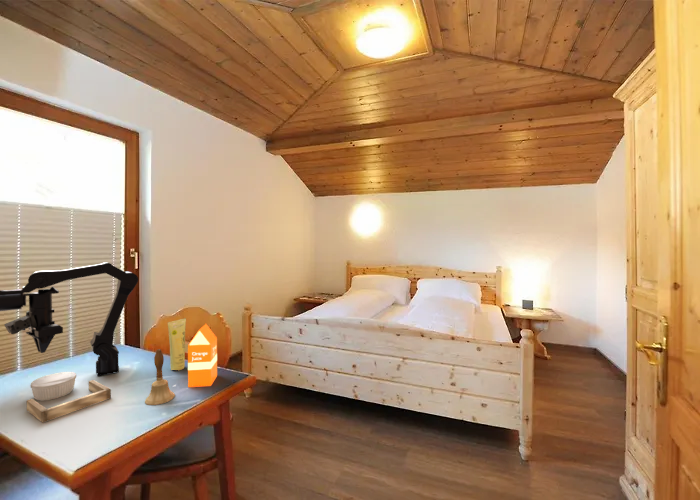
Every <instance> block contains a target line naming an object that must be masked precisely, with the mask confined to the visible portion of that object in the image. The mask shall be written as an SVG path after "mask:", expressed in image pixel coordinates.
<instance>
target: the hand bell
mask: <svg viewBox="0 0 700 500" xmlns="http://www.w3.org/2000/svg"><path fill="white" fill-rule="evenodd" d="M164 358H165V357H164V354H163V351H162V349H160V348H158V349H156V350H155V354H154V366H155V370H156V374H155V375H156V380H155V381H153V382H152V384H151V385H150V386H151V387H150V388H151V389H150V392H149V395H148V396H147V397H146V398H145V400H144V404H145V405H148V406H158V405H163V404H165V403H167V402H170V401H172V400H173V399H174V398H175V397H176V395H175V393H174V392H173V391H172V390H171V389H170V387H169V382H168V380H167V379H164V377H163V376H164V375H163V365H164V362H165V360H164Z"/></svg>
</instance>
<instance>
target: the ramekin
mask: <svg viewBox="0 0 700 500" xmlns="http://www.w3.org/2000/svg"><path fill="white" fill-rule="evenodd" d="M76 378H77V373H76V372H73V371H62V372H56V373H50V374H46V375H44V376H43V375H42V376H40V377H38V378H36V379H34V380H33V381H31V382H30V383H29V384H30V389H31V391H32V395H33V399H34V400H36V401H50V400H55V399H59V398H61V397H64V396H67V395H69V394H71V393H72V391H73V390H74V388H75V383H76Z"/></svg>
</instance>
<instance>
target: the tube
mask: <svg viewBox="0 0 700 500" xmlns="http://www.w3.org/2000/svg"><path fill="white" fill-rule="evenodd" d="M186 324H187V319H186V318H181V319H177V320H173V321H168V322H167V329H168V339H169V340H168V341H169V357H170V363H169V365H170V370H171V371H172V370H178V371H181V370H184V369H185V366H186V364H185V362H186V361H185V359H186V358H185V355H186V354H185V352H186V349H185V348H186Z"/></svg>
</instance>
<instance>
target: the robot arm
mask: <svg viewBox="0 0 700 500" xmlns="http://www.w3.org/2000/svg"><path fill="white" fill-rule="evenodd" d="M102 274H107V275H109V276H111V277H112V278H114V279H116V280H117V283H116V292H115V295H114V299H113V300H112V303H111V305H110V308H109V310H108V313H107V315H106V318H105V320H104V323H103V325H102V327H101V329H100V330H99V332H98V331H94V333H93V337H92V339H91V340H90V341H89V343H90V345H91V349H92V352H93V353H94V355H96V356H97V360H96V361H95V374H96V375H97V377H100V376H105V375H110V374H111V375H112V374H115V373H116V374H117V373H119V372H120V366H119V353H120V352H119V349H118V348H117V346H116V345H114V335H115V330H116V327H117V325H118V322H119V320H120V317H121V314H122V312H123V310H124V307H125V305H126V302H127V300H128V297H129V295H130V294H131V293H132V292H133V291H134V289H135V288H136V286H137V284H138V283H139V277H138V275H137V274H136V273H135V272H134V273H133V272H132V271H124V270H122V269H120V268H119V267H117V266H114V265H113V264H112V263H110V262H105V261H104V262H102V263H98V264H92V265H84V266H78V267H73V268H68V269H67V268H66V269H61V270H60V269H55V270H54V269H53V270H50V269H49V270H36V271H34V272H32V273H31V274H30V275H29V276H28V280H27V284H25V285H23V286H22V287H21V289H9V290H8V289H7V290H6V289H0V312H7V311H8V312H9V311H14V310H15V311H16V310H17V311H18V310H22V309H23V308H24V307H26V306H27V297H28V310H27V311H26V312H25V315H24V316H22V317H19V318H16V319H14V320H11V321H9V322H5V324H3V325H4V327H5V329H6V330H7V332H8V334H10V335H15V334H18V333H19V332H21V331H26V329H28V331H26V332H25V334H26V335H28V336H29V337H31V338H32V339H33V341H34V344H35V347H36V349H37V352H39V353H40V354H43V353H45V352H46V351H47V350H48V348H49V346H50V344H51V342H52V340H53V339H54V337H55V336H56V335H59V334H63V332H64V328H63V326H61V325H60V324H56V322H55V320H53V313H55V309H54V308H53V295H54V294H59V292H60V291H59V290H58V289H57V288H55V286H54V285H57V284H59V283H62V282H65V281H69V280H75V279H81V278H86V277H92V276H96V275H102ZM48 287H50V288H48ZM35 290H37V292H33V291H35Z"/></svg>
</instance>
